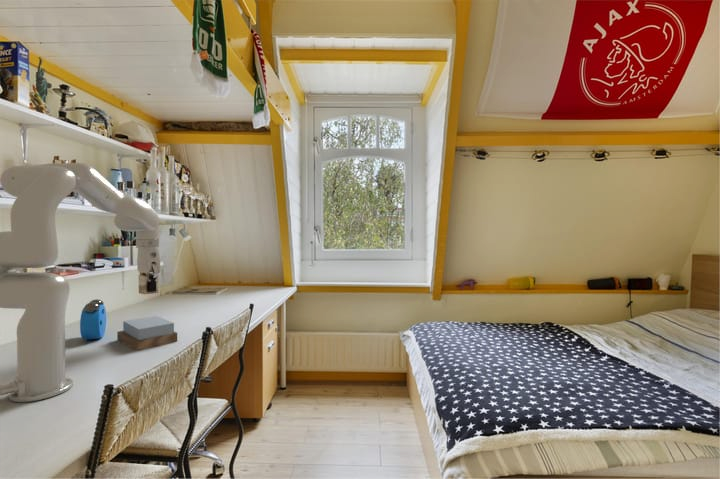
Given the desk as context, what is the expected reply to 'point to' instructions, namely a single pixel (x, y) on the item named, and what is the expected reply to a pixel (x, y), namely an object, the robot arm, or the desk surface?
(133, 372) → the desk surface
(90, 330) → the alarm clock
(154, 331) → the slate slab
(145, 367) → the desk surface
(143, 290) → the beech block
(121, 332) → the walnut slab
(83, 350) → the desk surface
